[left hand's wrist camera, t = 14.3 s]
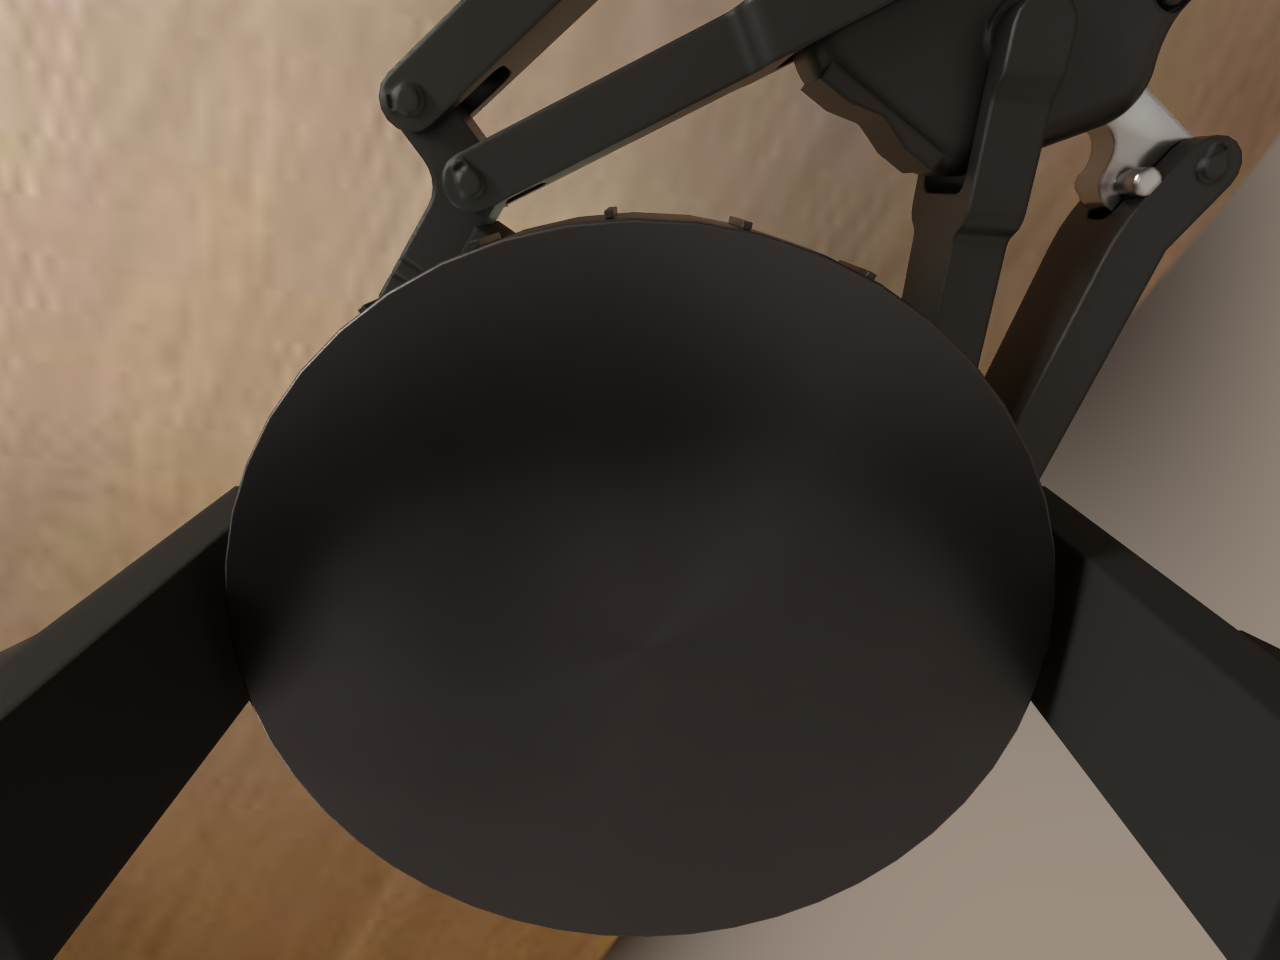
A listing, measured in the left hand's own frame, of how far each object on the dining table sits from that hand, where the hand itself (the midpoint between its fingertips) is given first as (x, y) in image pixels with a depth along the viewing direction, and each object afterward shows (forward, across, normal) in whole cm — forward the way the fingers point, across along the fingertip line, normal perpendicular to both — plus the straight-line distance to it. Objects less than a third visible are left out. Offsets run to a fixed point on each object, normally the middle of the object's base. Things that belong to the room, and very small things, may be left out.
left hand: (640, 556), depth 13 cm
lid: (-3, 0, 0) cm, 3 cm away
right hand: (+6, -2, -4) cm, 8 cm away
